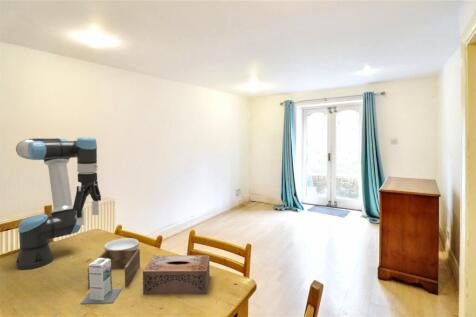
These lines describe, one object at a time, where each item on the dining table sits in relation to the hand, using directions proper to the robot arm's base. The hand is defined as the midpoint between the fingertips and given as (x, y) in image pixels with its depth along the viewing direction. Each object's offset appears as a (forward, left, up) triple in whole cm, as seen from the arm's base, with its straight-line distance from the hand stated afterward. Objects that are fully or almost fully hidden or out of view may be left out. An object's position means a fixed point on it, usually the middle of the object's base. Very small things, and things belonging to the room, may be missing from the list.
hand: (88, 219), depth 118 cm
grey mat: (+12, -16, -27) cm, 33 cm away
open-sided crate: (+12, -1, -27) cm, 29 cm away
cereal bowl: (+7, +21, -27) cm, 35 cm away
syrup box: (+12, -16, -27) cm, 33 cm away
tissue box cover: (+41, -9, -27) cm, 50 cm away
